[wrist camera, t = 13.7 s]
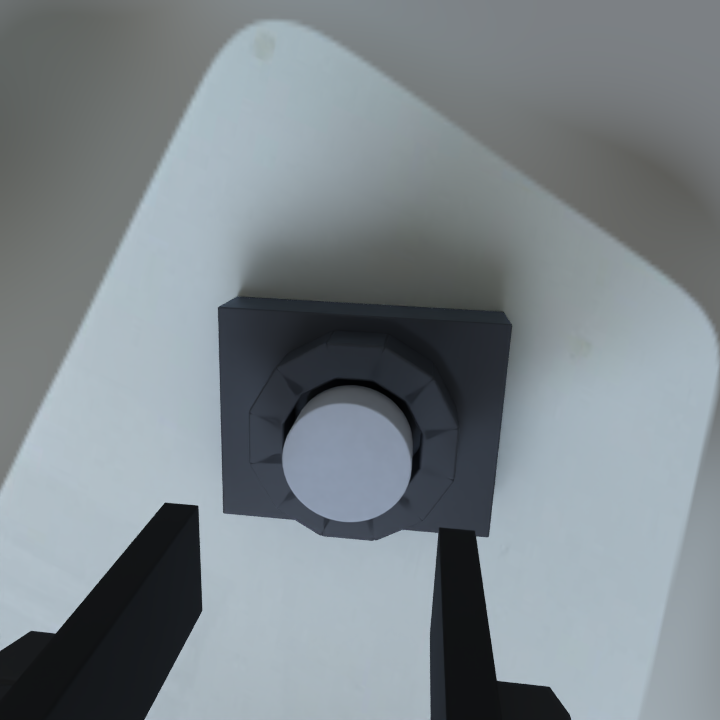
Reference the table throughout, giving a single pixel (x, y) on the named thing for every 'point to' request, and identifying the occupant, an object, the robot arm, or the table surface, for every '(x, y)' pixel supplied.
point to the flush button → (349, 454)
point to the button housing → (372, 370)
